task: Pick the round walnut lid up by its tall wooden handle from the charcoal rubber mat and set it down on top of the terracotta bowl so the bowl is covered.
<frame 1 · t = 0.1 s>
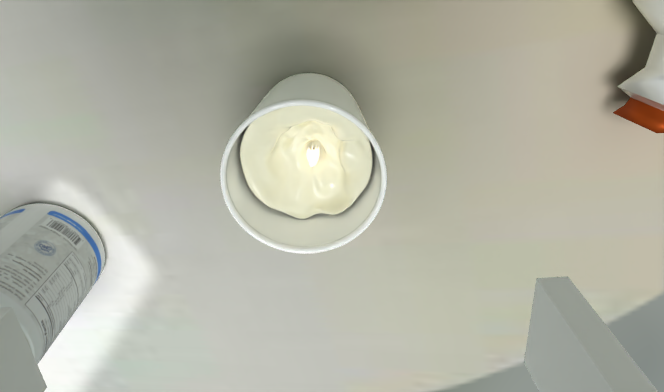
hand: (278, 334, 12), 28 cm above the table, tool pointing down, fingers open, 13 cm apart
supplement tub: (57, 244, 44), on the table
candle holder: (310, 123, 39), on the table
potion bottle: (663, 9, 36), on the table
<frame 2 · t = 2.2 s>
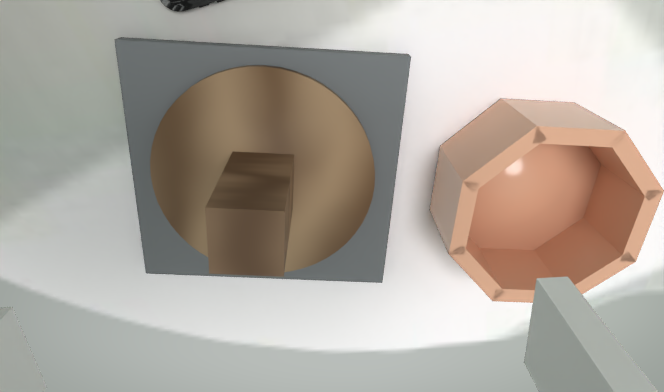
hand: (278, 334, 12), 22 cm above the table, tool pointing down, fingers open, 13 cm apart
bowl: (517, 182, 34), on the table
lid: (264, 176, 33), point 1 cm above the table, touching mat
mat: (266, 170, 34), on the table
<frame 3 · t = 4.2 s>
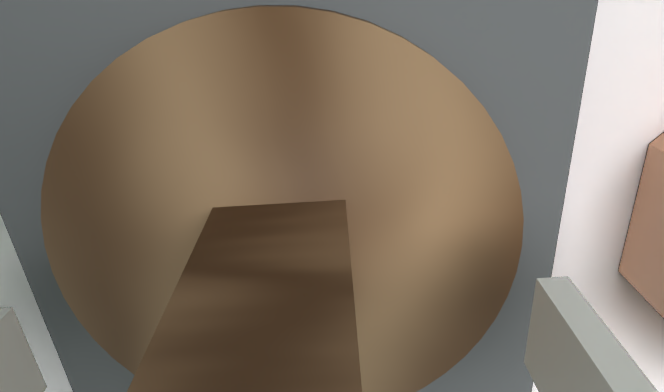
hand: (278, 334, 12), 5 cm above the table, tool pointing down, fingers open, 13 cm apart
lid: (287, 246, 16), point 1 cm above the table, touching mat
mat: (289, 231, 17), on the table
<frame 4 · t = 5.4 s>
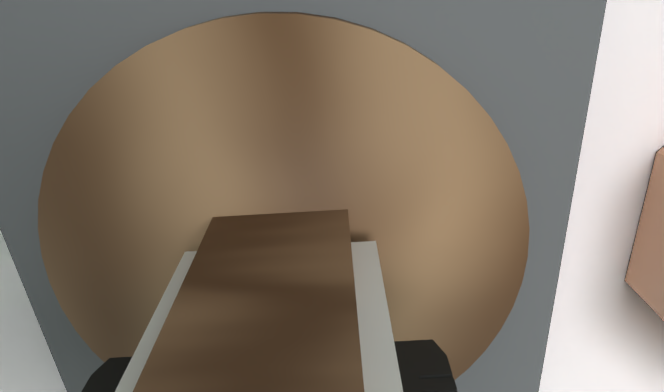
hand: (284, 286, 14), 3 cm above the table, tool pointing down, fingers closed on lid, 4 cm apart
lid: (288, 255, 16), point 1 cm above the table, touching gripper, mat
mat: (290, 240, 17), on the table
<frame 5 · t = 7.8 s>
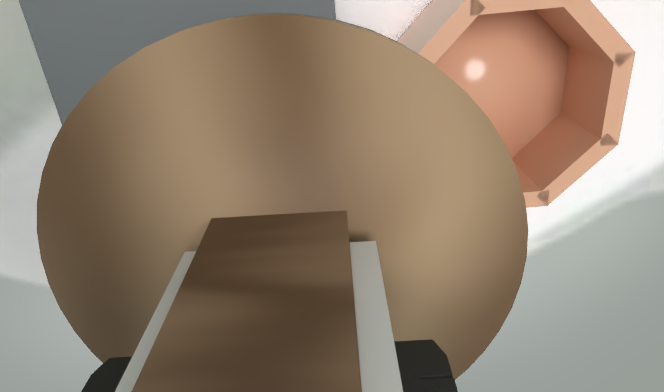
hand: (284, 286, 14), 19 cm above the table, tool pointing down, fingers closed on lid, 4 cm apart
bowl: (479, 84, 31), on the table
lid: (287, 256, 16), point 18 cm above the table, touching gripper
mat: (205, 109, 31), on the table
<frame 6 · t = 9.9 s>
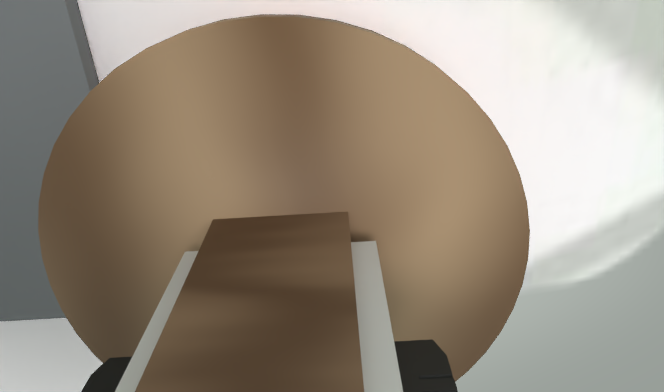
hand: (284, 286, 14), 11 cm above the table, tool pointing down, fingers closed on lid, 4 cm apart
lid: (288, 257, 16), point 9 cm above the table, touching gripper
when the fingers open (9 cm above the table, at t = 10.9 s): lid drops 1 cm, resting on bowl.
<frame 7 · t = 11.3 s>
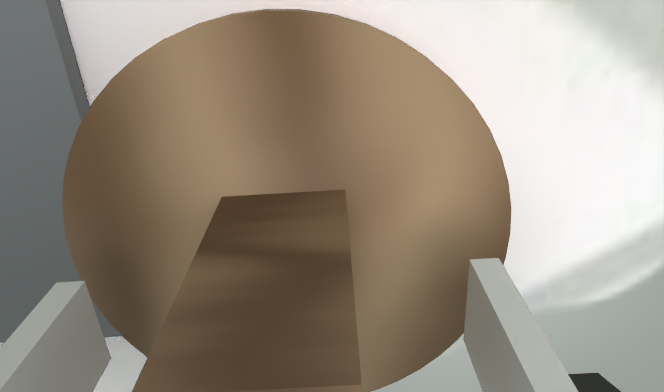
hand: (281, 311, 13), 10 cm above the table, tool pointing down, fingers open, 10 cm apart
lid: (290, 234, 17), point 6 cm above the table, touching bowl
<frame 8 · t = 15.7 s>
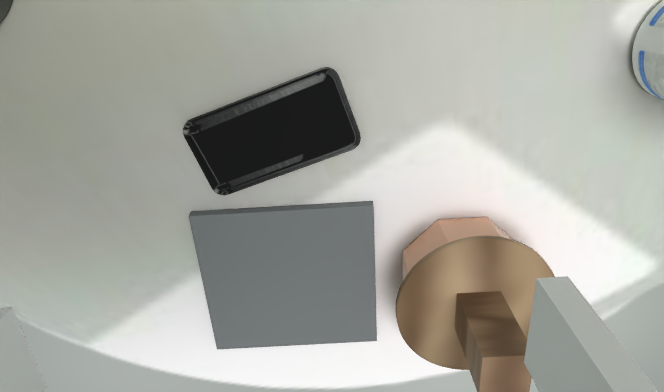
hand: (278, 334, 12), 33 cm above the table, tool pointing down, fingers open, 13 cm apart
bowl: (459, 267, 51), on the table
lid: (474, 304, 45), point 6 cm above the table, touching bowl
mat: (290, 277, 51), on the table
phone: (273, 131, 45), on the table
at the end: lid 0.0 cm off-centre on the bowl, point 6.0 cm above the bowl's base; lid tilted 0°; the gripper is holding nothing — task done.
